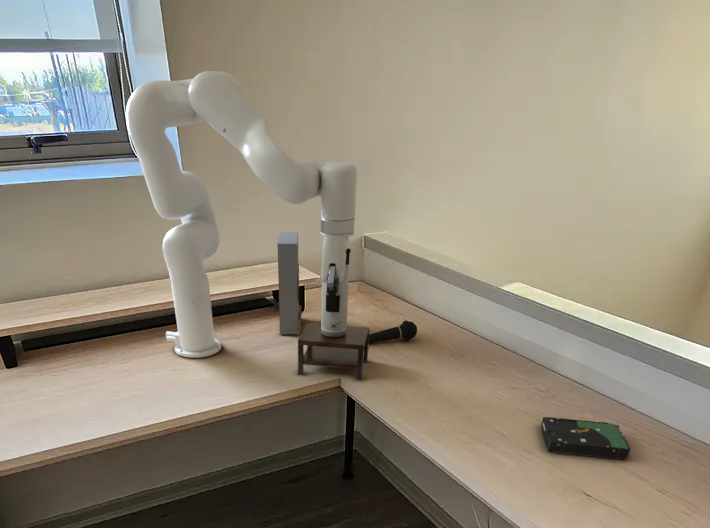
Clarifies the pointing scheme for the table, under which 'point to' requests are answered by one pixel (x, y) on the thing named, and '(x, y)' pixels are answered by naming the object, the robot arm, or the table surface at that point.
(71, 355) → the table surface
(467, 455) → the table surface
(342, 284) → the travel mug
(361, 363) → the plate
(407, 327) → the microphone
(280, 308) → the tall grey pillar
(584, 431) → the disk drive
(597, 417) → the table surface
